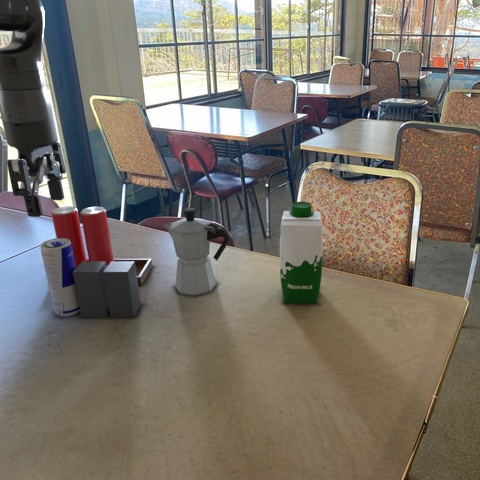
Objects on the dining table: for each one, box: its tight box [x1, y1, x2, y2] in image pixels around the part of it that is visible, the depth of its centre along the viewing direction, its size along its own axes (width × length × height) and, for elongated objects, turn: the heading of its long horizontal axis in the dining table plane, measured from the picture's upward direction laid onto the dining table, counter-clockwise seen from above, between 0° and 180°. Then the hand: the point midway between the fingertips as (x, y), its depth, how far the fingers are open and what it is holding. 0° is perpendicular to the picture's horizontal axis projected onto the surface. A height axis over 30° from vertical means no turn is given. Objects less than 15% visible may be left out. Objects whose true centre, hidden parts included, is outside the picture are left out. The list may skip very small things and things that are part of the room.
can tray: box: [86, 258, 153, 287], centre depth 109 cm, size 19×9×2 cm, turn 93°
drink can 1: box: [50, 205, 88, 268], centre depth 105 cm, size 5×5×15 cm
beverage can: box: [39, 237, 81, 317], centre depth 92 cm, size 5×5×15 cm
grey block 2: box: [103, 261, 142, 318], centre depth 94 cm, size 4×4×10 cm
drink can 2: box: [80, 206, 115, 266], centre depth 106 cm, size 5×5×15 cm
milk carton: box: [279, 201, 324, 305], centre depth 100 cm, size 9×9×20 cm
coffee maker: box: [162, 207, 232, 297], centre depth 102 cm, size 15×9×18 cm, turn 80°
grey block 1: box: [73, 261, 110, 318], centre depth 94 cm, size 4×4×10 cm
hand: (47, 207), depth 86 cm, fingers open, 8 cm apart
